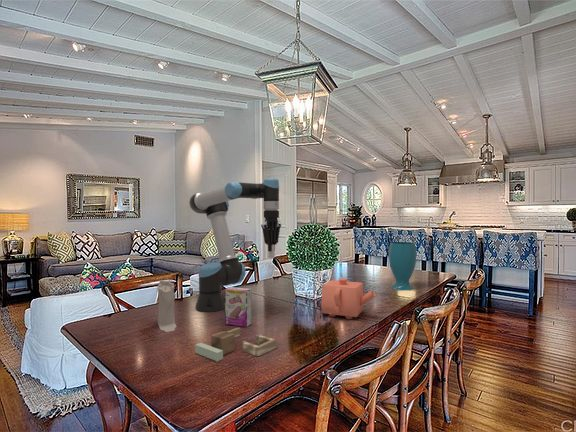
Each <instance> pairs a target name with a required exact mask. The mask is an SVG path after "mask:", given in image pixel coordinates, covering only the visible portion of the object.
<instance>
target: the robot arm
mask: <svg viewBox="0 0 576 432" xmlns="http://www.w3.org/2000/svg"><path fill="white" fill-rule="evenodd" d="M236 199H252V200H253V199H254V200H256V199H263V209H264V211H263V218H264V223H263V224H261V225H260V226H261V229H262V233H263V234H262V235H263V239H264V244H266V245H267V252H268V258H269V259H275V257H276V256H275V252H276V251H275V250H276V245H277V244H278V243H279V237H280V230H281V228H282V223H279V220H278V219H279V218H280V211H279V209H280V202H279V201H280V182H279V179H278V178H274V177H273V178H272V177H271V178H269V177H268V178H264V179H263V181H262V183H254V182H253V183H252V182H238V181H228V182H227V184H225V186H223V187H219V188H216V189H212V190H209V191H206V192H202V191H201V192H197V193H195V194H192V196H190V198H189V202H188V203H189V208H191V210H192V211H193V212H195V213H196V214H201V215H203V214H204V215H206V219H208V220H209V221H210V224H211V227H212V233H213V237H214V241H215V247H216V249H217V253H218V258H219V259H218V261H216V262H209V263H204V264H202V265H201V266H200V267H199V269H198V297H197V301H196V303H195V310H196V311H199V312H203V313H213V312H218V311H222V310H225V300H224V299H225V298H224V296H223V293H222V288H223V287H226V286H229V285H236V284H239V283H241V282H243V280H244V279H245V277H246V272H247V271H246V267H245V264H244V263H243V262H241V261H240V260H239V257H238V256H236V255H235V251H234V248H233V244H232V240H231V235H230V231H229V228H228V223H227V220H226V216H227V214H228V211H229V207H230V204H229V201H231V200H236Z"/></svg>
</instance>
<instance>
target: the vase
mask: <svg viewBox="0 0 576 432" xmlns="http://www.w3.org/2000/svg"><path fill="white" fill-rule="evenodd" d="M416 247H417V246H416V243H415V242H408V241H392V242H389V247H388V261H389V262H388V264H389V267H390V270H391V272H392V274H393V276H394V279H395V283H394V284H393V285H392V286H390V288H391V289H393V290H397V291H413V290H415V288H414V287H413V286H412V285H411V284H410V280H411V277H412V275H413V274H414V271H415V269H416V263H417V256H418V255H417V248H416Z"/></svg>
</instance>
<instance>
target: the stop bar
mask: <svg viewBox="0 0 576 432" xmlns="http://www.w3.org/2000/svg"><path fill="white" fill-rule="evenodd" d="M194 348H195V350H194V351H195V352H194V353H195V354H197V355H199V356H202V357H205V358H207V359H210V360H212V361H214V362H215V361H216V362H219V361H223V360H224V355H223V350H220V349H217V348H214V347H212V346H211V345H210V344H209V345H208V344H206V343H203V342H199V343H196V344H195V345H194Z"/></svg>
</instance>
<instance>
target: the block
mask: <svg viewBox="0 0 576 432" xmlns="http://www.w3.org/2000/svg"><path fill="white" fill-rule="evenodd" d="M210 337H211V338H210V342H211V343H210V344H211V345H210V346H212V347H214V348H217V349H220V350H223V356H225V355H226V354H229V353H231V352H234V351H235V347H236V346H235V338H236V337H235V334H232V333H229V332H227V331H225V330H222V331H219V332H216V333H214V334H211V336H210Z"/></svg>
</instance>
